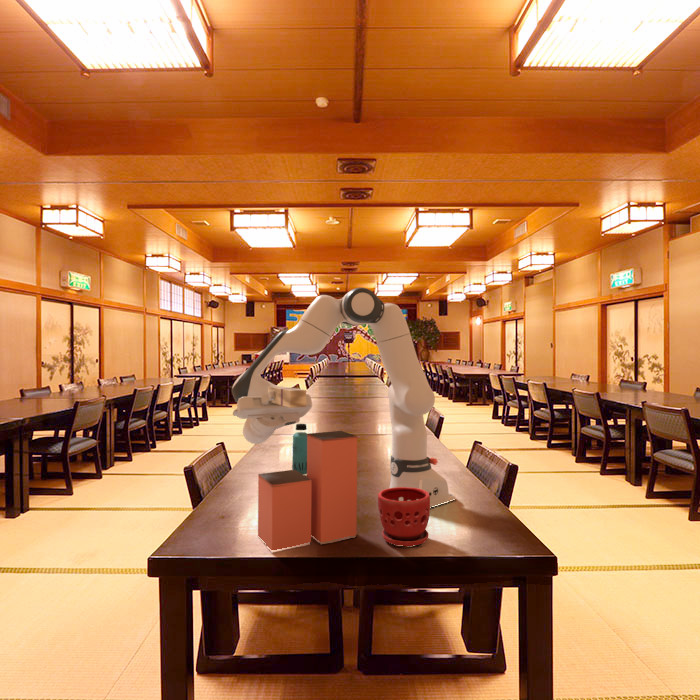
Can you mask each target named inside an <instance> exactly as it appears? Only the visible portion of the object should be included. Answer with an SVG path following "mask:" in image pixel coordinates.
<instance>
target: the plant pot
mask: <svg viewBox="0 0 700 700" xmlns="http://www.w3.org/2000/svg"><path fill="white" fill-rule="evenodd" d="M400 497H403V501H399V498H400ZM417 499H418V500H417ZM407 500H411V501H407ZM377 504H378V505H377V507H378V512H379V519H380V523H381V525H382V528H383V530H382V532H381V534H382V535H381V536H382V538H383V539H384V540H385V542H387V543H388V542H389V544H390V543H392V544H395V545H403V546H413V545H419V544H421V545H423V544H424V543H426V542H427V541H428V539H429V532H428V530H427V527H428V524H429V519H430V513H431V509H430V495H429V493H428V492H426V491H425V490H422V489H418V488H411V487H395V488H390V487H389V488H384V489H382V490H381V491H379V492H378V494H377ZM422 543H423V544H422ZM392 544H391V545H392ZM419 546H420V545H419Z"/></svg>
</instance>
